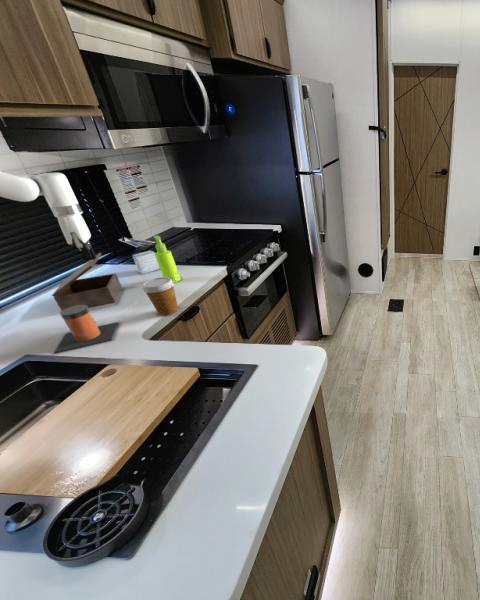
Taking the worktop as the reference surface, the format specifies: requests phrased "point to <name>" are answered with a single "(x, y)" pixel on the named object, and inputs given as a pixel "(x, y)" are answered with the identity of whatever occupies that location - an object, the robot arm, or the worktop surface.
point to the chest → (90, 292)
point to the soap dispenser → (166, 261)
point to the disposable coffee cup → (161, 294)
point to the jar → (80, 322)
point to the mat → (71, 343)
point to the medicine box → (146, 261)
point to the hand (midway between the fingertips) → (91, 259)
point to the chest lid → (76, 275)
